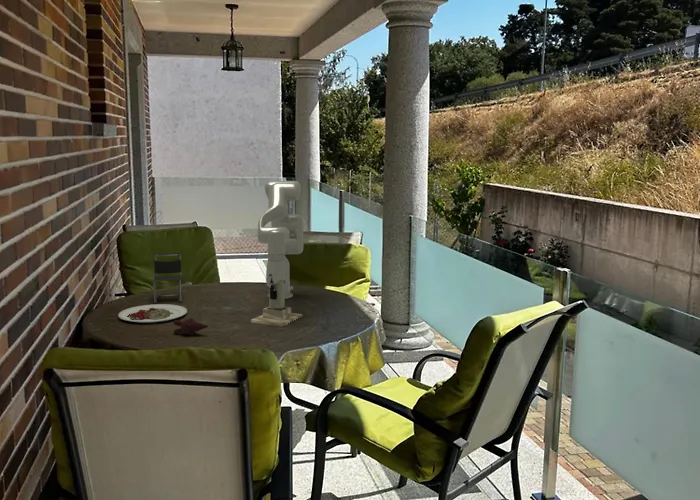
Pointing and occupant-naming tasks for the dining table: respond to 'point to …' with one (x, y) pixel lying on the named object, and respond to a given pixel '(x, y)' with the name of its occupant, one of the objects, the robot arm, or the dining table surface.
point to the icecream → (188, 326)
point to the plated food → (152, 313)
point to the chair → (167, 268)
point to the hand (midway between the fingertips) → (276, 297)
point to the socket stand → (276, 316)
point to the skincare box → (278, 296)
